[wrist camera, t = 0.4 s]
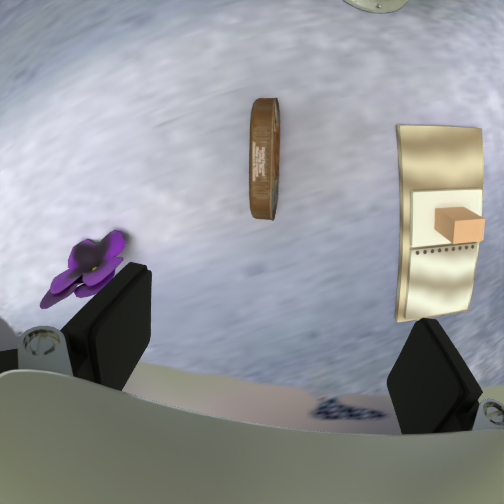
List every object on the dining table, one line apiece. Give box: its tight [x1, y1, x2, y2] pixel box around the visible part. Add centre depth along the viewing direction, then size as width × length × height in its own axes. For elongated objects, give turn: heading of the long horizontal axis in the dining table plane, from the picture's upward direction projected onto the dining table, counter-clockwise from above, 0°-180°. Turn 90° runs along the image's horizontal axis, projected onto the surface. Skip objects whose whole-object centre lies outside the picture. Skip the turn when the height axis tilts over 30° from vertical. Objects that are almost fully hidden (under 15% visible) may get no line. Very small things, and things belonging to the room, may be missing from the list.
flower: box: [40, 230, 126, 309], centre depth 46 cm, size 15×15×14 cm
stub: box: [410, 188, 485, 247], centre depth 36 cm, size 8×12×7 cm, turn 98°
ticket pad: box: [395, 126, 483, 322], centre depth 41 cm, size 30×14×3 cm, turn 8°
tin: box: [249, 98, 280, 221], centre depth 37 cm, size 15×3×8 cm, turn 179°
